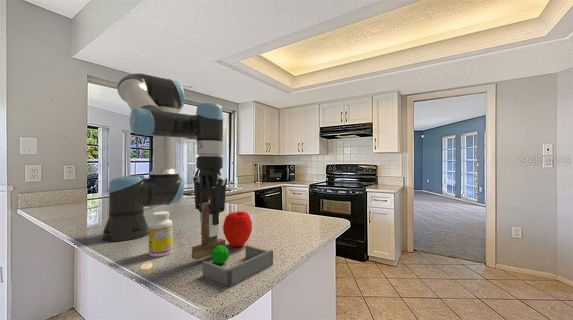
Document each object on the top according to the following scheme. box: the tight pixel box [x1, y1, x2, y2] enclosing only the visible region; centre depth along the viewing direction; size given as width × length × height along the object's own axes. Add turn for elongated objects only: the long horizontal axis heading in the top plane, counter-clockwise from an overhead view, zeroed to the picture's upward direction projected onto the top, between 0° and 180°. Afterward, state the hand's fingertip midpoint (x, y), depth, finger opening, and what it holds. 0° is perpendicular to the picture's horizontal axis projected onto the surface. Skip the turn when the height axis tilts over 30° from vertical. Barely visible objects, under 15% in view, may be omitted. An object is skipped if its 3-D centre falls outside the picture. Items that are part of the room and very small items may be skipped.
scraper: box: [191, 201, 226, 261], centre depth 75 cm, size 3×10×15 cm, turn 144°
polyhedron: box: [210, 245, 230, 265], centre depth 72 cm, size 5×5×5 cm
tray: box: [202, 244, 274, 288], centre depth 67 cm, size 10×16×4 cm, turn 144°
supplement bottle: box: [148, 210, 173, 258], centre depth 79 cm, size 7×7×13 cm
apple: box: [222, 210, 253, 247], centre depth 87 cm, size 10×10×12 cm
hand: (209, 234), depth 75 cm, fingers closed on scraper, 3 cm apart
